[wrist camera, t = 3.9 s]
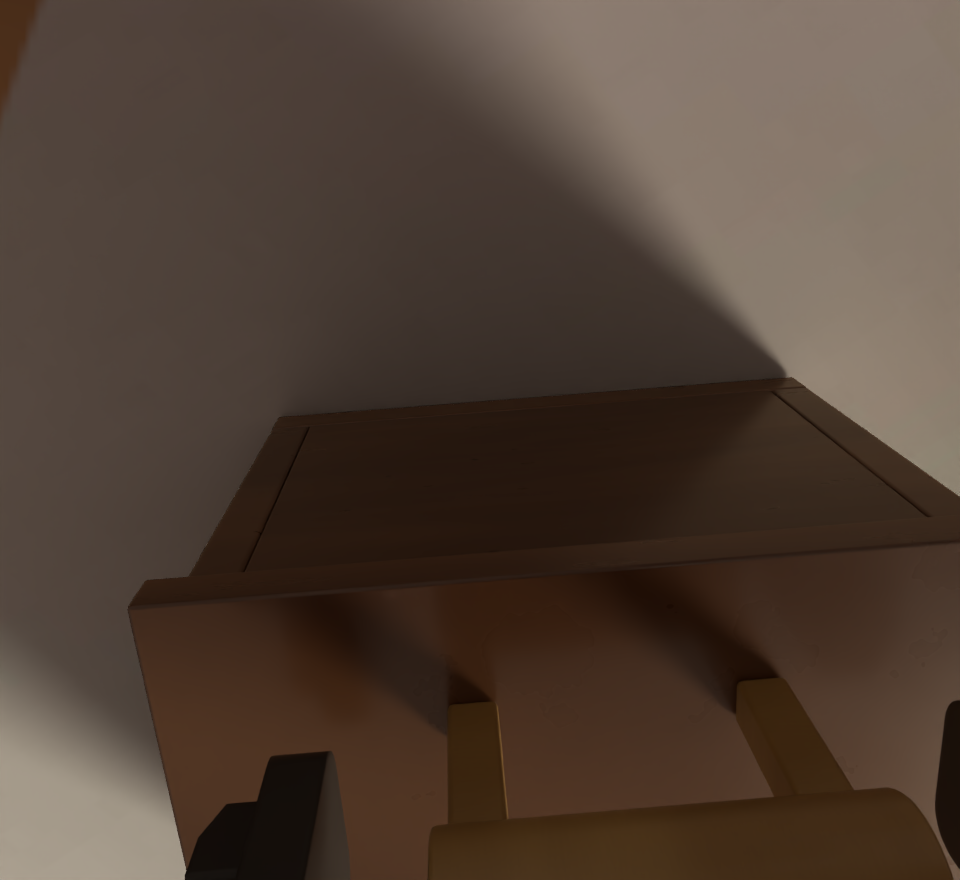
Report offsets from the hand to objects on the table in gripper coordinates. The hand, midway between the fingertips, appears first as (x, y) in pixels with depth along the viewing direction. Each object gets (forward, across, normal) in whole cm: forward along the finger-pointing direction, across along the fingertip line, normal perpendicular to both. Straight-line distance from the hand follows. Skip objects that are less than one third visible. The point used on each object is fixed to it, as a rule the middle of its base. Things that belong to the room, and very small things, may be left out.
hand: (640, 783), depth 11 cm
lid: (+2, 0, +6) cm, 6 cm away
